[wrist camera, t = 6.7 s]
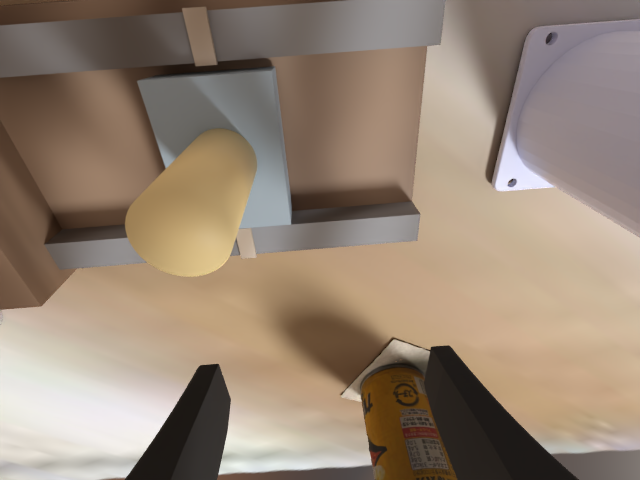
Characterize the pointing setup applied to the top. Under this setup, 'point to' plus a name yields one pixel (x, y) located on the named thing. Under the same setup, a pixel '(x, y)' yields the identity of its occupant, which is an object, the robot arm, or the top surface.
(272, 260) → the top surface
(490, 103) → the top surface
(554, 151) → the robot arm
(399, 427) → the condiment
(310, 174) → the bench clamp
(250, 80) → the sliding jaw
